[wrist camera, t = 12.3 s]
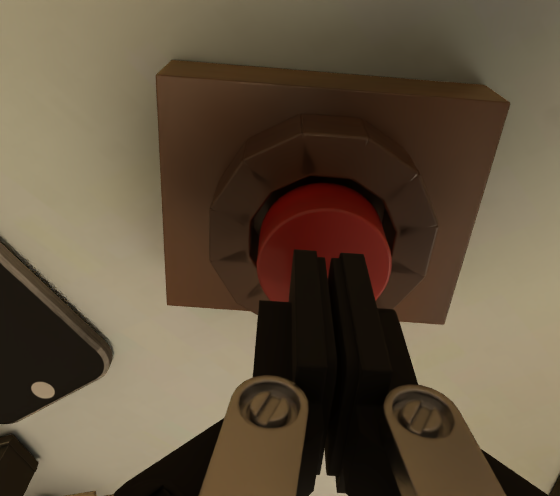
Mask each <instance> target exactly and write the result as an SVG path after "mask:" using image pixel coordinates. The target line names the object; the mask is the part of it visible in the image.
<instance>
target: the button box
mask: <svg viewBox="0 0 560 496" xmlns="http://www.w3.org/2000/svg"><path fill="white" fill-rule="evenodd" d="M156 92H157V112H158V132H159V153H160V173H161V193H162V214H163V234H164V254H165V274H166V295H167V305H172V306H186V307H200V308H214V309H229V310H243V311H251V312H253V313H255V314H257V315H258V310H259V300H265V301H270V299H269V298H268V297H267V296H266V294H265V293H264V291H263V289H262V287H261V285H260V283H259V280H258V275H257V255H258V246H259V237H260V229H261V225H262V222H263V219H264V217H265V215H266V213H267V212H268V210H269V209H270V207H271V206H272V205H273V204H274V203H275V202H276V201H277V200H278V199H279V198H280V197H281V196H283V195H284V194H286V193H287V192H289V191H291V190H293V189H295V188H297V187H300V186H303V185H307V184H312V183H334V184H339V185H343V186H346V187H348V188H351V189H353V190H355V191H356V192H358V193H360V194H361V195H362V196H364V197H365V198H366V199H367V200H368V201H369V202H370V203H371V204H372V205H373V207H374V208H375V209H376V211H377V213H378V215H379V218H380V220H381V223H382V226H383V229H384V233H385V236H386V239H387V242H388V245H389V248H390V251H391V257H392V268H391V274H390V277H389V281H388V283H387V285H386V287H385V289H384V290H383V292H382V294H381V295H380V296H379V297H378V299H377V300H376V305H377V308H384V309H394V310H395V311H396V313H397V316H398V319H399V322H413V323H427V324H442V325H443V324H444V323H445V320H446V317H447V313H448V310H449V307H450V303H451V300H452V297H453V293H454V290H455V287H456V283H457V280H458V277H459V273H460V270H461V266H462V263H463V260H464V256H465V253H466V250H467V246H468V243H469V240H470V236H471V233H472V230H473V226H474V223H475V220H476V216H477V213H478V210H479V206H480V203H481V200H482V196H483V193H484V190H485V186H486V183H487V180H488V176H489V173H490V170H491V166H492V163H493V160H494V156H495V153H496V150H497V146H498V143H499V140H500V136H501V133H502V130H503V126H504V123H505V120H506V116H507V113H508V110H509V106H510V102H509V101H507V100H506V99H504V98H503V97H501V96H500V95H499V94H497V93H496V92H494V91H493V90H492V89H490V88H489V87H487V86H486V85H481V84H468V83H456V82H443V81H430V80H418V79H405V78H393V77H380V76H368V75H355V74H343V73H330V72H317V71H305V70H292V69H280V68H267V67H255V66H242V65H229V64H217V63H204V62H192V61H179V60H171V61H170V62H169V63H168V64H167V65H166V66H165V67H164V68H163V69H162V70H161V71H160V72H158V73H157V74H156Z"/></svg>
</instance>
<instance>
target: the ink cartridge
mask: <svg viewBox="0 0 560 496" xmlns="http://www.w3.org/2000/svg"><path fill="white" fill-rule="evenodd" d="M37 466H38V461H37V460H36V459H35V458H34V457H33V456H32V455H31V454H30V453H29V452H28V451H27V449H26V448H25V447H24V446H23V445H22V444H21V443H20V442H19V441H18V440H17V439H16V438H15V436H14V435H12V434H11V435H6V436H2V437H0V496H23V495H24V493H25V491H26V489H27V487H28V485H29V483H30V481H31V479H32V477H33V475H34V473H35V472H36V470H37Z"/></svg>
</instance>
